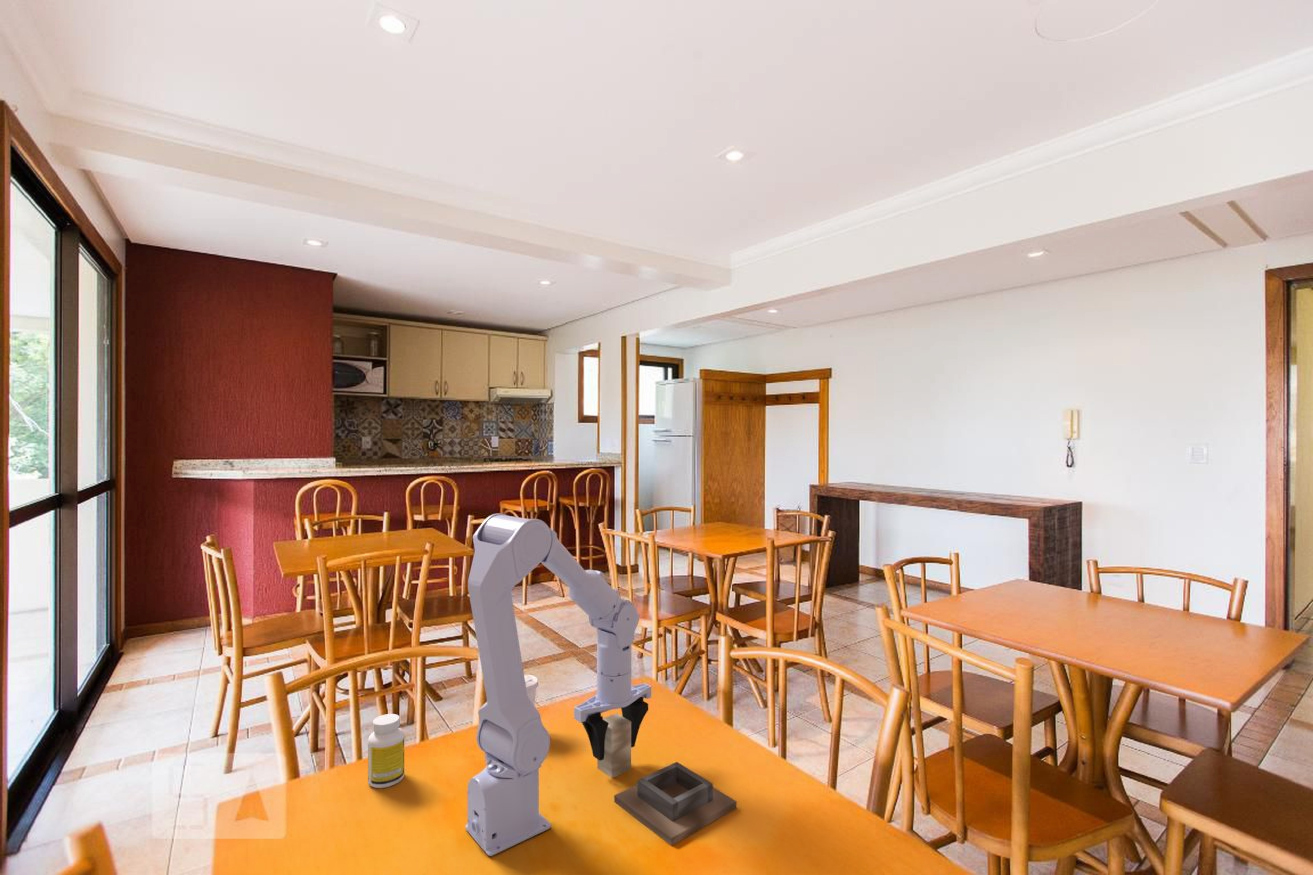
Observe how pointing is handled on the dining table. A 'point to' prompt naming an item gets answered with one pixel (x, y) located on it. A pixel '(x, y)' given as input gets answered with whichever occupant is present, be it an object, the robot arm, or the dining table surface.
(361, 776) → the dining table surface
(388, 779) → the supplement bottle
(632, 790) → the socket block
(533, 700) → the smoothie
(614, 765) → the square peg
